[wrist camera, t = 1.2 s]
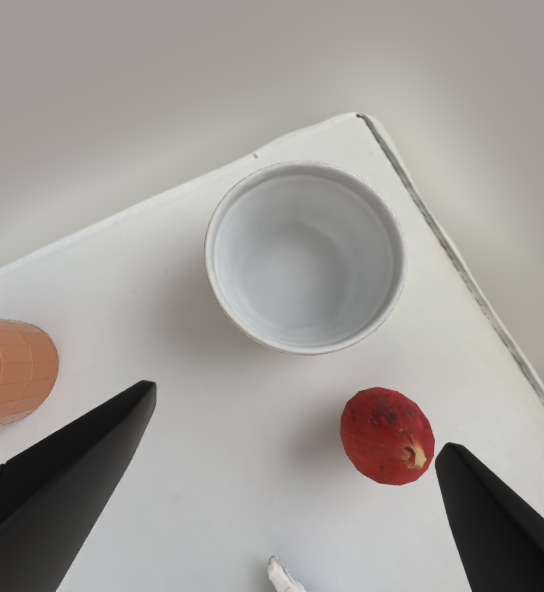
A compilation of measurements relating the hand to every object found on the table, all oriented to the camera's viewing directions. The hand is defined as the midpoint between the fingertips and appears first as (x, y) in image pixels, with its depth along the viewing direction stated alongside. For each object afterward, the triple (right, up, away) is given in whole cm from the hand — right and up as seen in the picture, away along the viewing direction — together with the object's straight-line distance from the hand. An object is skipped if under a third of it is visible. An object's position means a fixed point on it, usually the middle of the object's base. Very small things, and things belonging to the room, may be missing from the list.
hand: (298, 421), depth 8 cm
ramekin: (+1, +5, +16) cm, 17 cm away
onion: (+7, -6, +14) cm, 17 cm away
